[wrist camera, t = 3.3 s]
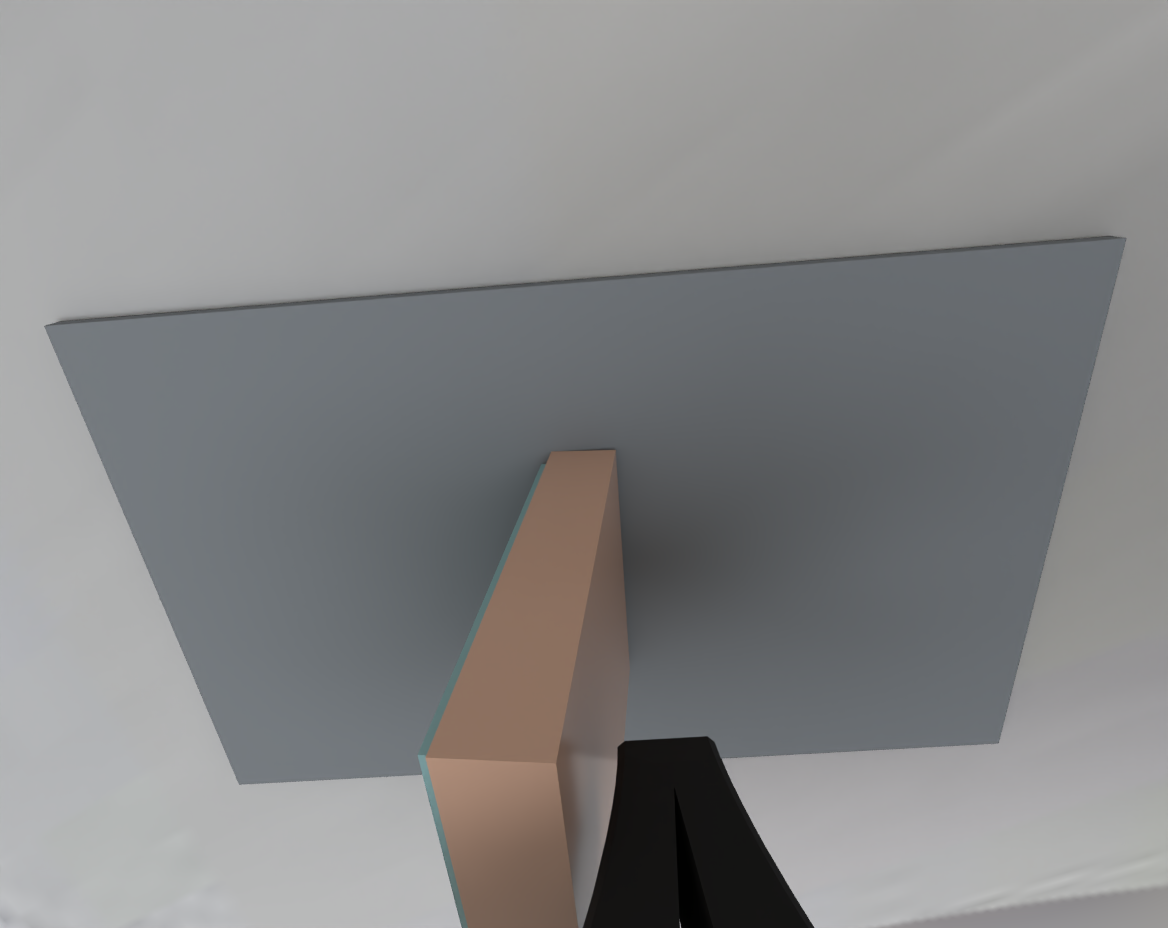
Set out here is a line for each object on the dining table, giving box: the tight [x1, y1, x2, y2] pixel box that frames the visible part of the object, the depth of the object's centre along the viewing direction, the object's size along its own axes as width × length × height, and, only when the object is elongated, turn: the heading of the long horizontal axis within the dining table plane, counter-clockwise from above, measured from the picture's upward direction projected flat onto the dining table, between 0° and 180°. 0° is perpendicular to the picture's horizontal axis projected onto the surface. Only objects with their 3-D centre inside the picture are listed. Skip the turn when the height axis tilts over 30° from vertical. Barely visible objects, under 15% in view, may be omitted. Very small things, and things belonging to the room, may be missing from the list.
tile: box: [418, 450, 630, 928], centre depth 12 cm, size 2×6×8 cm, turn 4°
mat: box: [44, 236, 1126, 785], centre depth 15 cm, size 21×13×1 cm, turn 95°
